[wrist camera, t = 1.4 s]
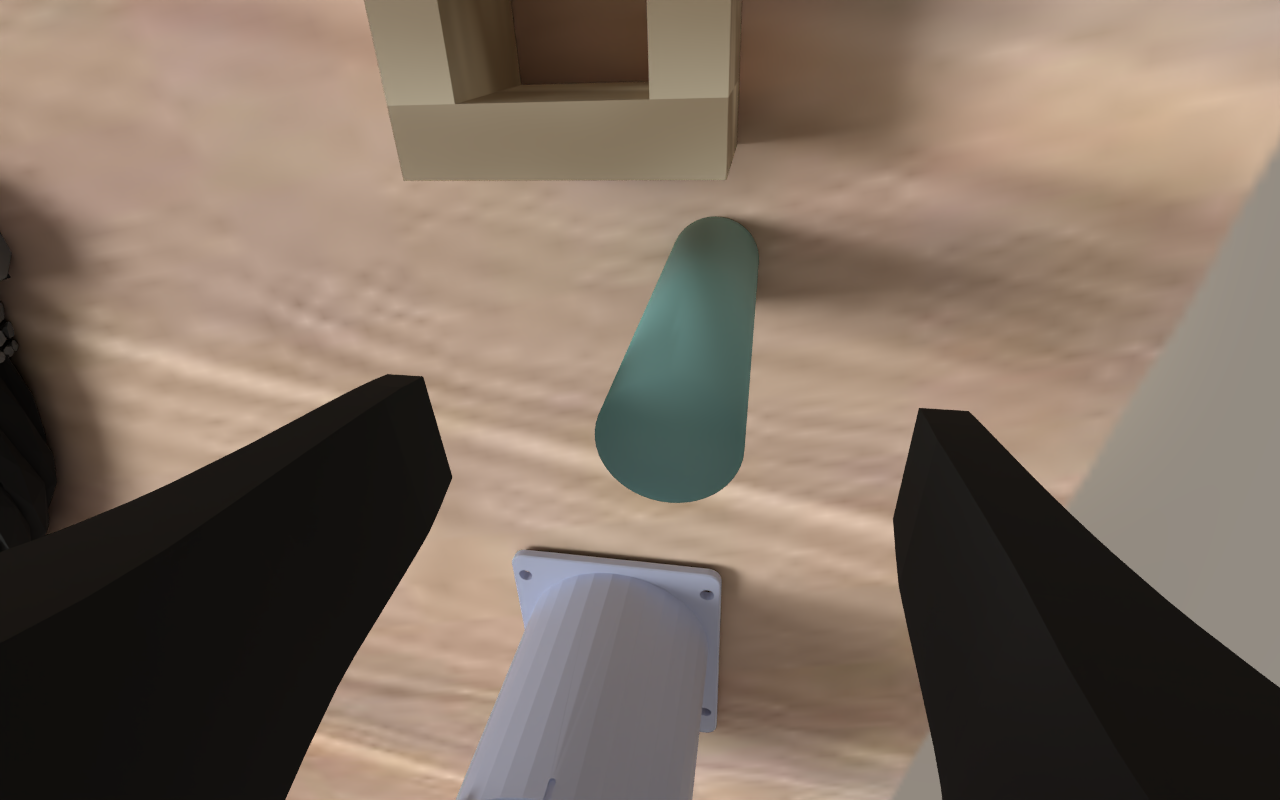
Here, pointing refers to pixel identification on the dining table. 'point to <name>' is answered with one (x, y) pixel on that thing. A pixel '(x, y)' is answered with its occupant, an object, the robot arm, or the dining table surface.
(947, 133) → the dining table surface
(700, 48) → the beige socket block
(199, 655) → the robot arm
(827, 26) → the dining table surface
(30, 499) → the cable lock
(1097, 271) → the dining table surface
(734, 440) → the peg
